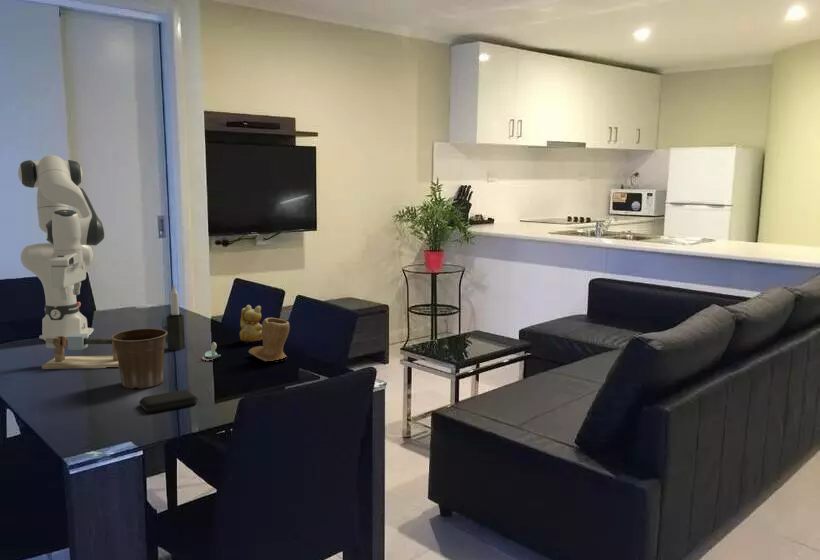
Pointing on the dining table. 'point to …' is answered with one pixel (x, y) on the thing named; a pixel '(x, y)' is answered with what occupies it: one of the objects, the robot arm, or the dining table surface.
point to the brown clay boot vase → (272, 340)
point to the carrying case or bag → (168, 401)
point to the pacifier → (211, 353)
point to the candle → (175, 324)
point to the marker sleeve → (76, 341)
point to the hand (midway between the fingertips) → (71, 297)
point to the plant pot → (140, 357)
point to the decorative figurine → (251, 324)
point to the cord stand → (78, 361)
